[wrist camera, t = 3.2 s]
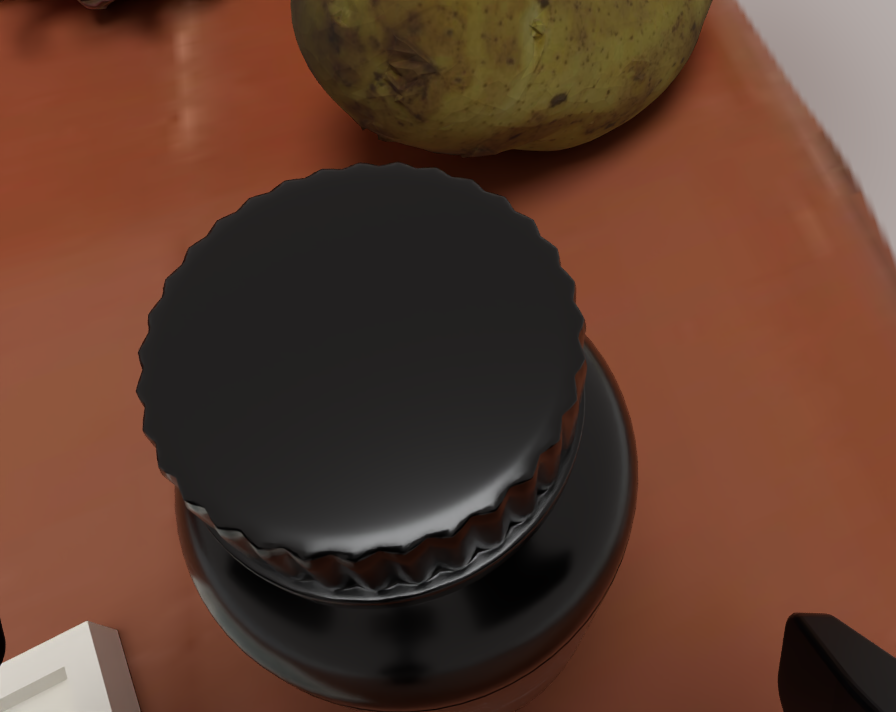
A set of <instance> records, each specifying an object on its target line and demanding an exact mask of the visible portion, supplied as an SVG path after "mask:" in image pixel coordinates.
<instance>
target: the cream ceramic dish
mask: <svg viewBox="0 0 896 712" xmlns="http://www.w3.org/2000/svg"><path fill="white" fill-rule="evenodd" d="M0 712H141V711H140V707H139V704H138V700H137V697H136V693H135V690H134V687H133V683H132V680H131V676H130V673H129V669H128V666H127V662H126V659H125V655H124V652H123V648H122V645H121V641H120V638H119V634H118V631H117V630H115V629H112V628H109V627H106V626H103V625H99V624H96V623H93V622H90V621H86V622H84V623H82V624H80V625H78V626H76V627H74V628H72V629H70V630H68V631H66V632H64V633H62V634H60V635H58V636H56V637H54V638H52V639H50V640H48V641H46V642H44V643H42V644H40V645H38V646H36V647H34V648H32V649H30V650H28V651H26V652H24V653H22V654H20V655H18V656H16V657H14V658H12V659H10V660H8V661H6V662H4V663H2V664H1V666H0Z"/></svg>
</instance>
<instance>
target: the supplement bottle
mask: <svg viewBox="0 0 896 712" xmlns="http://www.w3.org/2000/svg"><path fill="white" fill-rule="evenodd" d="M148 326H149V332H148V334H147V336H146V338H145V339H144V341H143V343H142V345H141V347H140V349H139V351H138V355H139V360H140V364H141V367H142V373H141V376H140V378H139V381H138V385H137V389H136V393H137V395H138V397H139V399H140V401H141V403H142V405H143V406H144V407H145V410H144V417H143V432H144V434H145V436H146V437H147V438H148V440H149V441H150V442H151V443H152V444H153V445H154V446H155V447H156V453H157V461H158V467H159V469H160V471H161V473H162V475H163V476H164V477H165V478H167V479H168V480H169V481H170V482H172V483H173V484H174V485H175V514H176V522H177V530H178V535H179V540H180V544H181V548H182V552H183V556H184V559H185V562H186V564H187V567H188V570H189V573H190V576H191V578H192V580H193V582H194V584H195V586H196V588H197V590H198V592H199V595H200V597H201V599H202V600H203V602H204V604H205V605H206V607H207V608H208V610H209V611H210V613H211V615H212V616H213V618H214V619H215V620H216V622H217V623H218V624H219V625H220V627H221V628H222V629H223V630H224V632H225V633H226V634H227V636H228V637H229V638H230V639H231V640H232V641H233V642H234V643H235V644H236V645H237V646H238V647H239V648H240V649H241V650H242V651H243V652H244V653H245V654H247V655H248V656H249V657H250V658H252V659H253V660H254V661H255V662H257V663H258V664H259V665H260V666H262V667H263V668H264V669H266V670H267V671H269V672H270V673H272V674H274V675H275V676H277V677H278V678H280V679H282V680H283V681H285V682H286V683H288V684H290V685H292V686H294V687H296V688H297V689H299V690H301V691H303V692H306V693H308V694H310V695H312V696H314V697H317V698H320V699H323V700H325V701H328V702H331V703H334V704H337V705H340V706H343V707H346V708H350V709H353V710H356V711H360V712H514V711H516V710H518V709H519V708H521V707H523V706H525V705H526V704H527V703H529V702H530V701H531V700H533V699H534V698H535V697H537V696H538V695H539V694H540V693H541V692H542V691H543V690H545V689H546V688H547V687H548V686H549V685H550V684H551V683H552V681H553V680H554V679H555V678H556V677H557V676H558V675H559V674H560V672H561V671H562V670H563V668H564V667H565V665H566V664H567V663H568V661H569V660H570V659H571V657H572V655H573V654H574V652H575V650H576V648H577V647H578V645H579V643H580V641H581V640H582V638H583V636H584V634H585V632H586V630H587V629H588V627H589V625H590V623H591V621H592V619H593V618H594V616H595V614H596V612H597V610H598V608H599V607H600V605H601V603H602V601H603V599H604V597H605V596H606V594H607V592H608V590H609V588H610V586H611V584H612V582H613V580H614V577H615V575H616V573H617V571H618V568H619V566H620V564H621V562H622V559H623V556H624V553H625V549H626V546H627V543H628V540H629V536H630V532H631V528H632V523H633V518H634V513H635V509H636V500H637V490H638V459H637V450H636V441H635V436H634V432H633V427H632V422H631V418H630V415H629V412H628V409H627V406H626V403H625V400H624V397H623V395H622V392H621V390H620V388H619V386H618V383H617V381H616V379H615V377H614V375H613V373H612V372H611V370H610V368H609V366H608V365H607V363H606V361H605V359H604V358H603V357H602V355H601V354H600V352H599V351H598V350H597V348H596V347H595V345H594V344H593V343H592V341H591V340H590V339H589V338H588V337H587V336H586V335H585V332H586V323H585V319H584V317H583V316H582V314H581V312H580V310H579V308H578V307H577V305H576V285H575V282H574V280H573V279H572V278H571V277H570V276H569V274H568V273H567V272H566V271H565V270H564V269H563V268H562V267H561V262H560V257H559V252H558V249H557V248H556V247H555V246H554V245H552V244H551V243H550V242H548V241H547V240H545V239H544V238H542V237H541V236H540V234H539V231H538V228H537V226H536V224H535V222H534V220H533V219H531V218H529V217H527V216H525V215H523V214H521V213H518V212H516V211H514V209H513V208H512V206H511V204H510V203H509V201H508V200H507V199H506V198H505V197H504V196H501V195H498V194H494V193H490V192H486V191H484V190H483V189H482V188H481V187H480V186H479V185H478V184H477V183H476V182H475V181H474V180H472V179H467V178H460V177H451V176H450V175H448V174H446V173H445V172H444V171H442V170H440V169H439V168H437V167H424V168H415V167H412V166H410V165H408V164H404V163H401V162H394V163H389V164H386V165H381V166H377V165H373V164H367V163H357V164H354V165H351V166H349V167H347V168H344V169H321V170H319V171H317V172H315V173H313V174H312V175H310V176H308V177H306V178H302V179H293V180H286V181H284V182H282V183H281V184H279V185H278V186H277V187H275V188H274V189H273V190H271V191H270V192H269V193H265V194H261V195H257V196H254V197H251V198H249V199H248V200H247V201H246V202H245V203H244V204H243V205H242V206H241V207H240V208H239V209H238V210H237V211H236V212H235V213H232V214H230V215H228V216H225V217H223V218H221V219H219V220H217V221H216V223H215V224H214V225H213V227H212V228H211V230H210V231H209V233H208V235H207V236H206V237H204V238H203V239H201V240H200V241H198V242H196V243H195V244H194V245H192V246H191V247H189V248H188V250H187V252H186V255H185V257H184V260H183V263H182V265H181V266H180V267H178V268H177V269H176V270H175V271H174V272H173V273H172V274H171V275H170V276H168V277H167V278H166V279H165V283H164V287H163V294H162V298H161V299H160V300H159V301H158V302H157V304H156V305H155V306H154V307H153V309H152V310H151V311H150V313H149V314H148Z"/></svg>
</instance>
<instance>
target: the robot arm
mask: <svg viewBox="0 0 896 712" xmlns="http://www.w3.org/2000/svg"><path fill="white" fill-rule="evenodd" d="M5 647H6V642H5V636H4V632H3V628H2V624H1V620H0V666H1V664H2V661H3V658H4V654H5ZM778 690H779V696H780V701H781V704H782V708H783V712H896V658H895V657H893V656H892V655H890V654H889V653H887V652H886V651H884V650H883V649H881V648H880V647H878V646H877V645H875V644H874V643H872V642H871V641H869V640H868V639H867V638H865V637H864V636H862V635H861V634H859V633H858V632H856V631H855V630H853V629H852V628H850V627H849V626H847V625H846V624H844V623H843V622H841V621H840V620H839V619H837V618H835V617H834V616H832V615H829V614H822V613H793V614H792V615H790V616H789V618H788V620H787V622H786V626H785V632H784V638H783V645H782V651H781V658H780V665H779V671H778Z"/></svg>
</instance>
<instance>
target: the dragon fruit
mask: <svg viewBox="0 0 896 712" xmlns="http://www.w3.org/2000/svg"><path fill="white" fill-rule="evenodd" d="M2 1H3V0H0V2H2ZM78 1H79V2H80V3H81V4H82V5H84V6H85V7H86V8H88V9H106V8H107V6H108V5H109V4H110V3H111V2H113V1H115V0H78Z"/></svg>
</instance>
